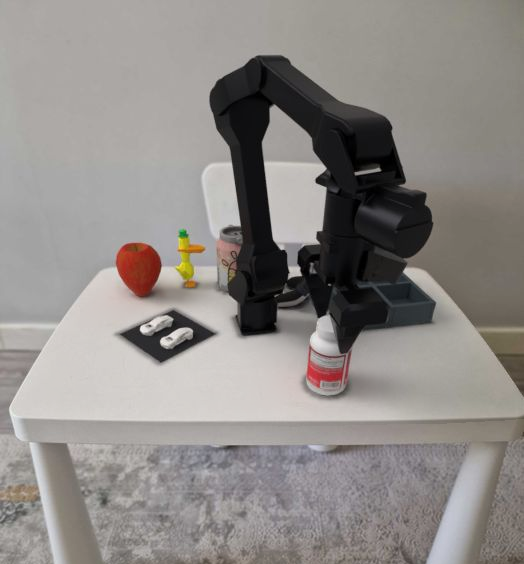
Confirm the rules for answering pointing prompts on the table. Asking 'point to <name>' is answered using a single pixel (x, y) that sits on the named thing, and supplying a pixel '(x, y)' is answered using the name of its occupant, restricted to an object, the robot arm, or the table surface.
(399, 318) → the tray
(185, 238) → the toy figure
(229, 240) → the beverage can
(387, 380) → the table surface
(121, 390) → the table surface
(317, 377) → the pill bottle
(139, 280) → the apple
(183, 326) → the black mat with cars
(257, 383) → the table surface
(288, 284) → the gaming controller
